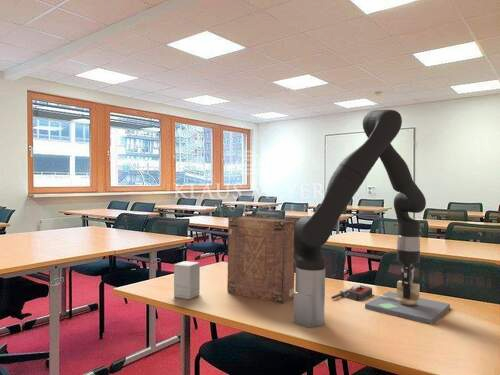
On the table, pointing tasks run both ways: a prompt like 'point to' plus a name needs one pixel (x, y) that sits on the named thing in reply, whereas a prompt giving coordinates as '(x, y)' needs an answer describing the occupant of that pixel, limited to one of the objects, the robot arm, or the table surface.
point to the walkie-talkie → (355, 292)
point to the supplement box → (186, 279)
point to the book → (261, 258)
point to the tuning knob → (413, 294)
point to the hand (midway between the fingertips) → (407, 296)
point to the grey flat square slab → (409, 308)
